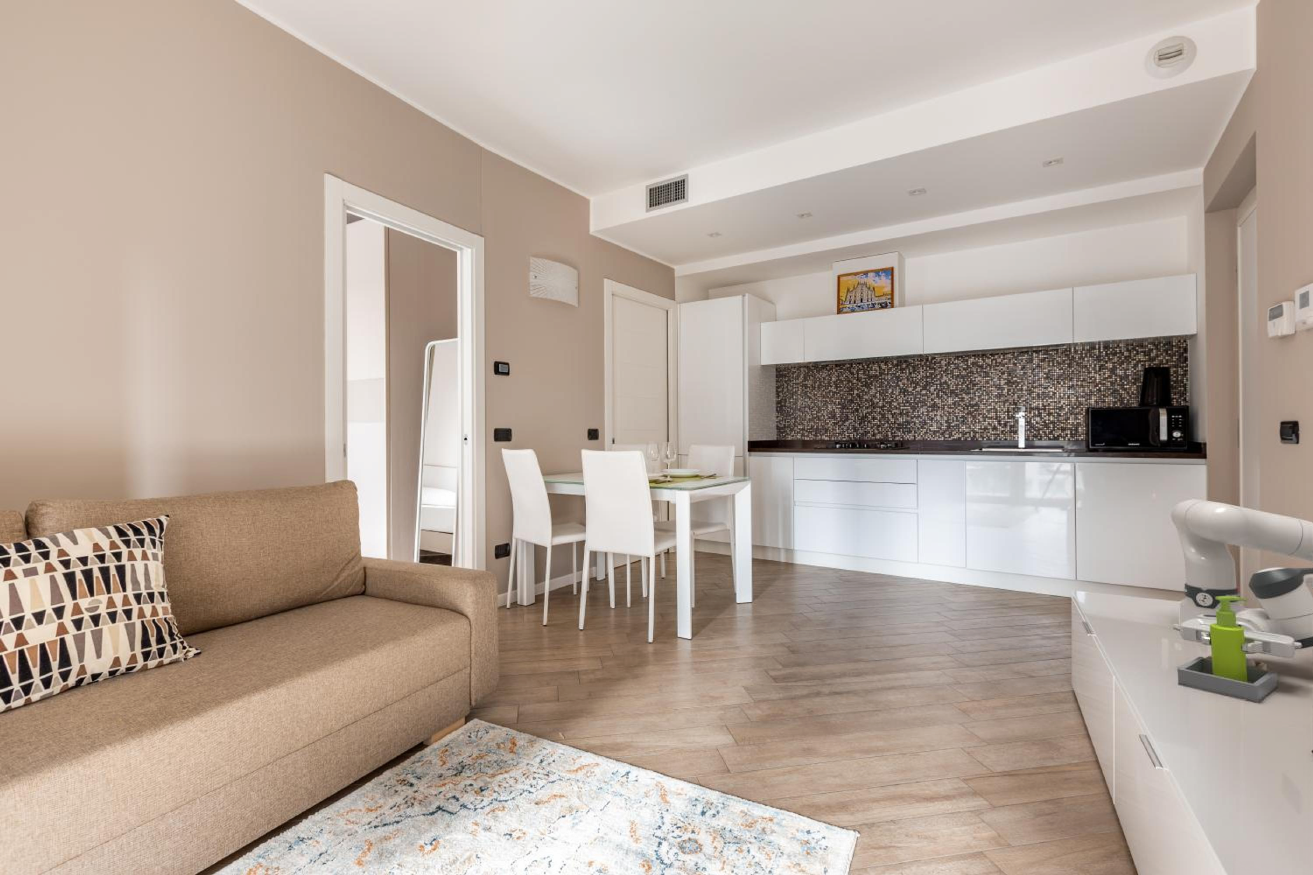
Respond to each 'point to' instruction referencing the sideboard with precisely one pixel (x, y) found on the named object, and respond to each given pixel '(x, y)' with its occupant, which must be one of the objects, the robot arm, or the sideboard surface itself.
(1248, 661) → the pebble
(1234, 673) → the soap dispenser
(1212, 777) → the sideboard surface
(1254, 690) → the dish
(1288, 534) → the robot arm
